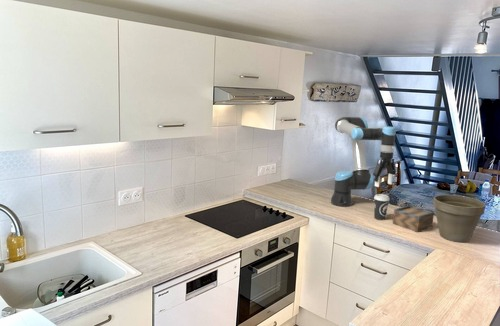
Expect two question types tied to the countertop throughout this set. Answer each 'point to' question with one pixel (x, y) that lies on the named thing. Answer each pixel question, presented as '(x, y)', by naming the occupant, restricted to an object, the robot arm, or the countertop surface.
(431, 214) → the wooden box
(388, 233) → the countertop surface
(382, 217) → the coffee cup
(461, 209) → the plant pot
